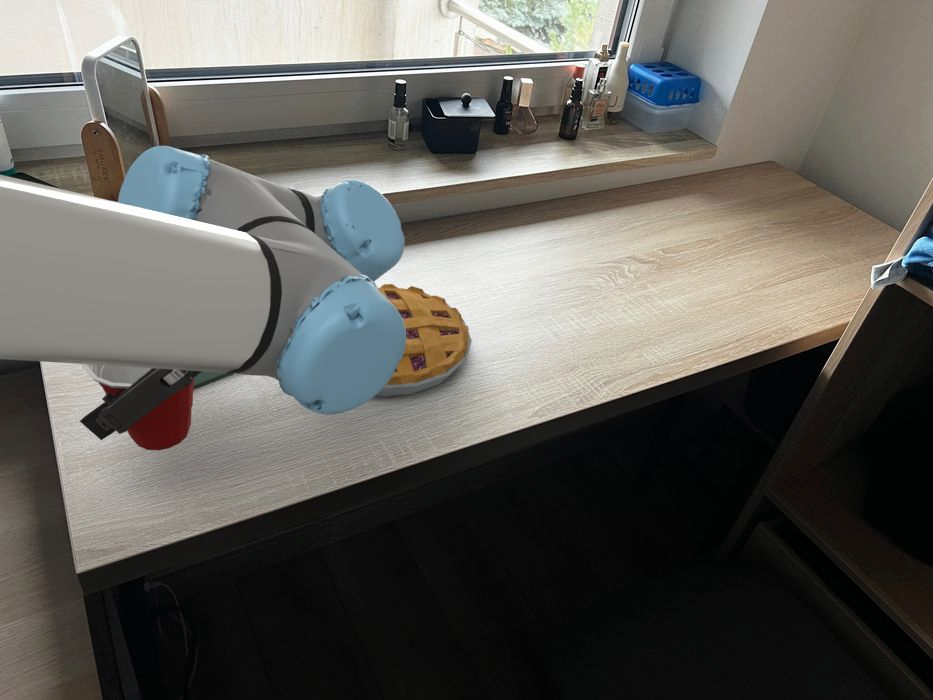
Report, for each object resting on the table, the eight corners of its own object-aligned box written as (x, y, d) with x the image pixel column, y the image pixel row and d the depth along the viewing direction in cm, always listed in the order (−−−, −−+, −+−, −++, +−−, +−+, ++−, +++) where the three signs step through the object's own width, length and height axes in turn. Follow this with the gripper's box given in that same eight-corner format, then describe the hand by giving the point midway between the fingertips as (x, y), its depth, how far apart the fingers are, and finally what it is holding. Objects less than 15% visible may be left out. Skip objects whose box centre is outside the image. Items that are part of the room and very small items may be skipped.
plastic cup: (82, 459, 73) (52, 367, 65) (138, 391, 81) (118, 303, 74) (184, 480, 72) (166, 389, 65) (230, 409, 80) (219, 322, 73)
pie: (434, 296, 111) (437, 268, 108) (494, 386, 96) (498, 357, 93) (292, 318, 103) (290, 289, 100) (332, 421, 88) (331, 390, 85)
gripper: (218, 418, 55) (81, 498, 67) (336, 273, 72) (211, 358, 84) (144, 346, 52) (15, 443, 64) (284, 214, 70) (163, 310, 82)
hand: (126, 395), depth 74 cm, fingers closed on plastic cup, 10 cm apart
